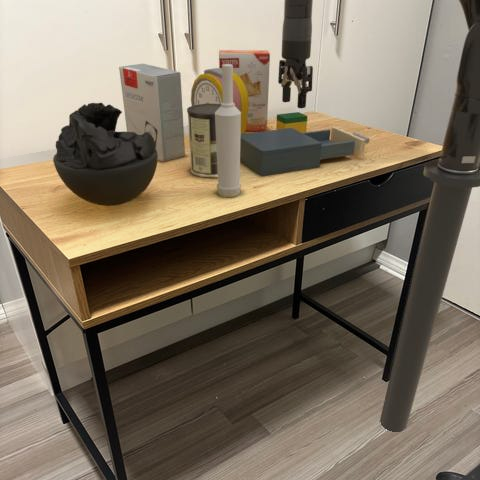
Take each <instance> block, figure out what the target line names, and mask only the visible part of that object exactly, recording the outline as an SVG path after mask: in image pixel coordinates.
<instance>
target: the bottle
mask: <svg viewBox="0 0 480 480" xmlns="http://www.w3.org/2000/svg"><path fill="white" fill-rule="evenodd" d="M222 80H223V103H221V107H220V108H219V109H218V110H217V111H216V112H215V126H216V148H217V169H218V177H217V183H216V191H217V194H218V195H219V196H220V197H222V198H223V197H224V198H234V197H237V196H239V195H240V194H241V189H242V184H241V183H240V179H241V161H240V137H241V112H240V111H239V110H238V109H237V108H236V107H235V104H234V103H233V65H231V64H224V65H222Z"/></svg>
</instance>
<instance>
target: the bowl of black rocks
mask: <svg viewBox="0 0 480 480" xmlns="http://www.w3.org/2000/svg"><path fill="white" fill-rule="evenodd" d="M122 113H123V111H122V110H121V109H119V108H117V107H114V106H113V105H111V104H107V105H105V104H104V103H103V102H90V103H87V104H85V103H84V104H83V105H81V106H80V107H78V109H75V110H74V111H73V112H71V113H70V114H69V118H68V119H69V120H68V122H69V123H68V125H65V126H63V127H62V128H61V129H60V131H61V132H60V133H59V135H58V138H57V139H58V140H56V141H55V149H56V153H55V154H54V155H53V158H52V162H53V165H54V168H55V170H56V173H57V175H58V176H59V178H60V179H61V181H62V183H64V185H65V187H66V188H67V189H68V190H70V192H71V193H73V194H74V195H76V196H77V197H79V198H80V199H81V200H83V201H85V202H87V203H90V204H93V205H97V206H103V207H113V206H114V207H115V206H120V205H124V204H127V203H130V202H132V201H134V200H135V199H137V198H138V197H139V196H141V195H142V194H143V193H144V192H145V191H146V190H147V188H148V187H149V185H150V184H151V182H152V181H153V179H154V176H155V173H156V171H157V170H156V169H157V165H158V160H157V159H158V153H157V150H156V149H155V144H154V138H153V137H152V135H151V134H150V133H149V132H145V133H144V134H142V135H138V134H136V133H135V132H127V131H116V130H117V124H118V119H119V118H120V116H121V115H122Z"/></svg>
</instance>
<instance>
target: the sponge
mask: <svg viewBox="0 0 480 480" xmlns="http://www.w3.org/2000/svg"><path fill="white" fill-rule="evenodd" d="M307 127H308V115H306V114H303V113H302V112H300V111H296V112H288V113H277V114H276V129H275V130H278V129H286V128H293V129H295V130H297V131H299V132H301V133H305V132H307Z"/></svg>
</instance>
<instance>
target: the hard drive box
mask: <svg viewBox="0 0 480 480" xmlns="http://www.w3.org/2000/svg"><path fill="white" fill-rule="evenodd" d="M118 69H119V75H120V76H119V78H120V79H119V80H120V84H121V85H120V86H121V93H122V94H121V95H122V101H123V109H124V110H123V111H124V119H125V127H126V132H135V133H136V134H138V135H142V134H144V133H145V132H149V133H150V134H151V135H152V137H153V138H154V144H155V149H156V150H157V153H158V159H157V161H160V162H162V163H164V162H168V161H171V160H175V159H178V158H182V157H185V156H186V144H185V143H186V142H185V130H184V129H185V127H184V126H185V125H184V111H183V110H184V109H183V94H182V93H183V91H182V75H181V74H182V73H181V72H180V71H178V70H173V69H168V68H164V67H160V66H157V65H151V64H147V63H137V64H131V65H121V66H119V67H118Z"/></svg>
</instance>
